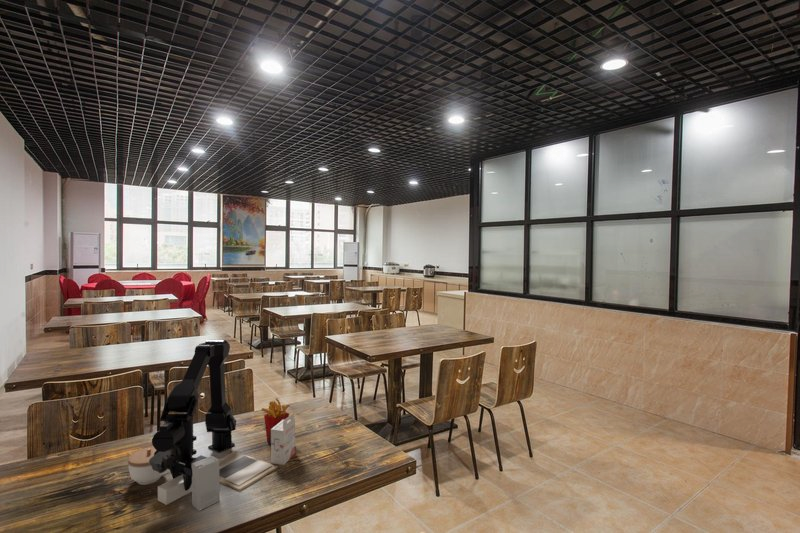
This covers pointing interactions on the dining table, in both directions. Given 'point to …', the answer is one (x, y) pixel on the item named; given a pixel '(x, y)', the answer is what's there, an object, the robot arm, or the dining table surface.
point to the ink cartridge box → (283, 441)
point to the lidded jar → (143, 467)
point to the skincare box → (205, 482)
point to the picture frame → (242, 470)
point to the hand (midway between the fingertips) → (182, 487)
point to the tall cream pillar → (172, 490)
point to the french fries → (274, 416)
